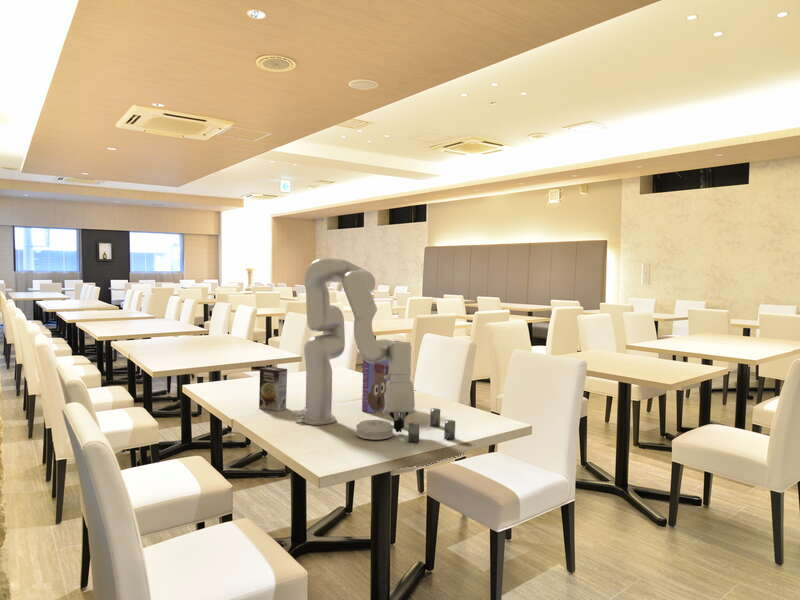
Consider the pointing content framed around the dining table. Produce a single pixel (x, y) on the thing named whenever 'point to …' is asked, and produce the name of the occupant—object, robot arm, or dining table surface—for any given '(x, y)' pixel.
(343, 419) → the dining table surface
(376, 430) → the lid
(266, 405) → the coffee box
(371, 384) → the cereal box
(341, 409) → the dining table surface
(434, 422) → the post field
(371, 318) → the robot arm
